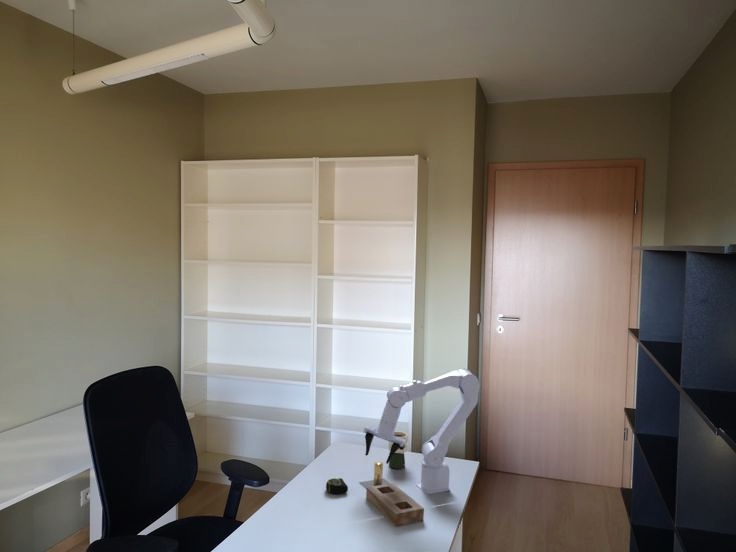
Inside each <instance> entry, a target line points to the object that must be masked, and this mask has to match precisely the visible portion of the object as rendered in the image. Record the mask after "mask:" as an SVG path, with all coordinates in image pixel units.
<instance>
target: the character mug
mask: <svg viewBox="0 0 736 552" xmlns="http://www.w3.org/2000/svg"><path fill="white" fill-rule="evenodd" d="M393 435H394V436H396V437H398V438H400V439H403V440H405V442H404V445H403V447H401V446H400V447H399V449H398V450H397V451H396V452H395V453H394V454H393V456H392V457H391V458H390V461H389V463H388V466H389V467H390V468H393V469H394V470H402V469H404V468H406V461H405V460H406V458H405V453H406V452H407V450H408V444H407V443H408V433H406V432H404V431H399V430H396V431H394V434H393ZM392 444H393V443H392V442H389V441H388V451H390V450H391V447H392Z"/></svg>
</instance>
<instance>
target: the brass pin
mask: <svg viewBox="0 0 736 552" xmlns="http://www.w3.org/2000/svg"><path fill="white" fill-rule="evenodd" d="M373 466H374V469H373V480H374V486H378V485H382V478H383V473H384V472H383V471H384V463H383V462H380V461H375V462H374V465H373Z"/></svg>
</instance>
